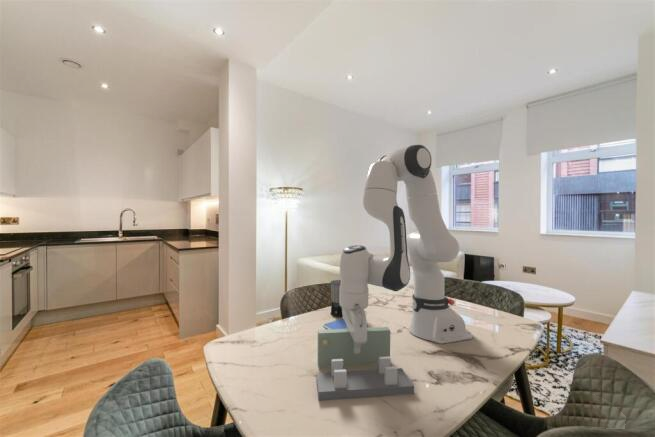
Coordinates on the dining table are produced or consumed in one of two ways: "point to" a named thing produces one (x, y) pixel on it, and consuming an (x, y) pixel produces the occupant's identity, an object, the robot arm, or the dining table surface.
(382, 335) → the cabinet door
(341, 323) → the tablet computer
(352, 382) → the hinge base
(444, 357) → the dining table surface
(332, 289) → the milk frother
